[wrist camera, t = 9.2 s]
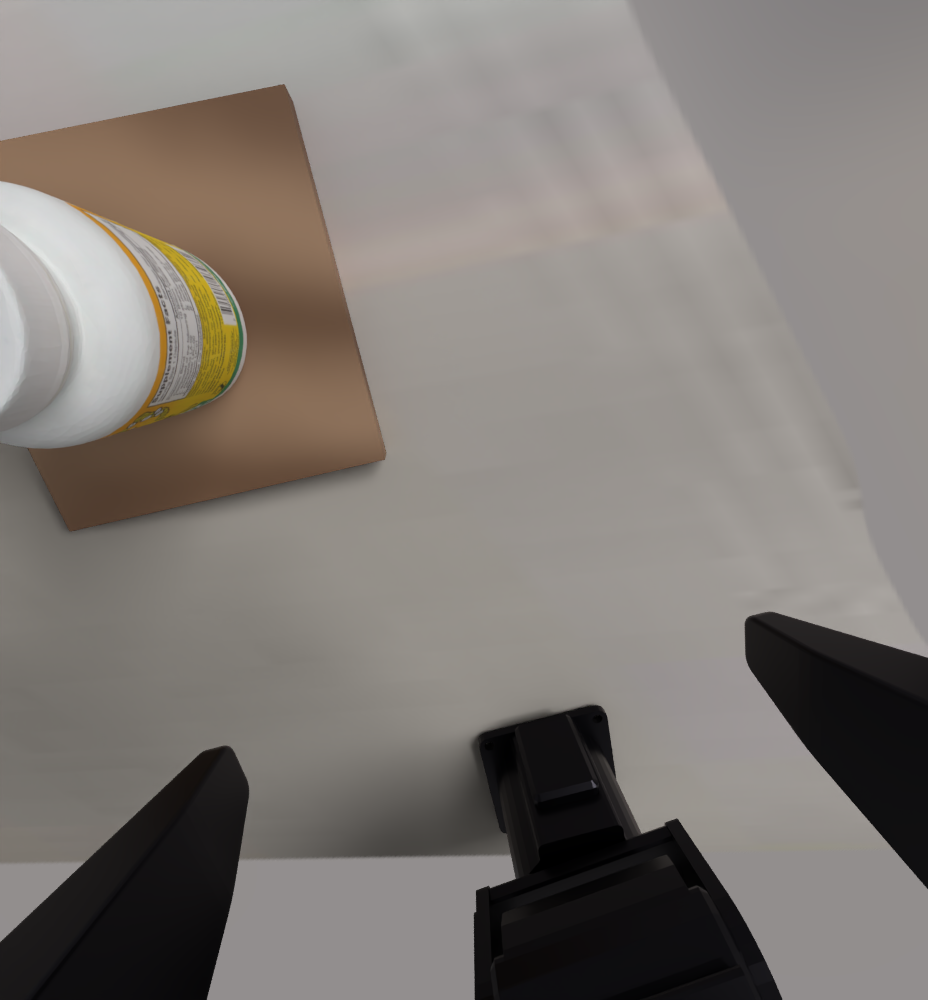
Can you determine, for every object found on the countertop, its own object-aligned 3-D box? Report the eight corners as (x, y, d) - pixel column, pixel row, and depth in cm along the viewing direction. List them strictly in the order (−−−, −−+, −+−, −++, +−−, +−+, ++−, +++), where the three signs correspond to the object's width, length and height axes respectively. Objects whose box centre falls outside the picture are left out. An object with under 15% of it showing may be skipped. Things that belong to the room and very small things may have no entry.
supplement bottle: (264, 276, 17) (91, 197, 8) (235, 429, 18) (59, 518, 9) (88, 218, 16) (-354, 46, 7) (72, 385, 17) (-314, 433, 8)
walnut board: (386, 452, 20) (384, 459, 19) (89, 520, 20) (69, 531, 19) (292, 101, 16) (284, 84, 15) (-79, 176, 16) (-116, 164, 15)
